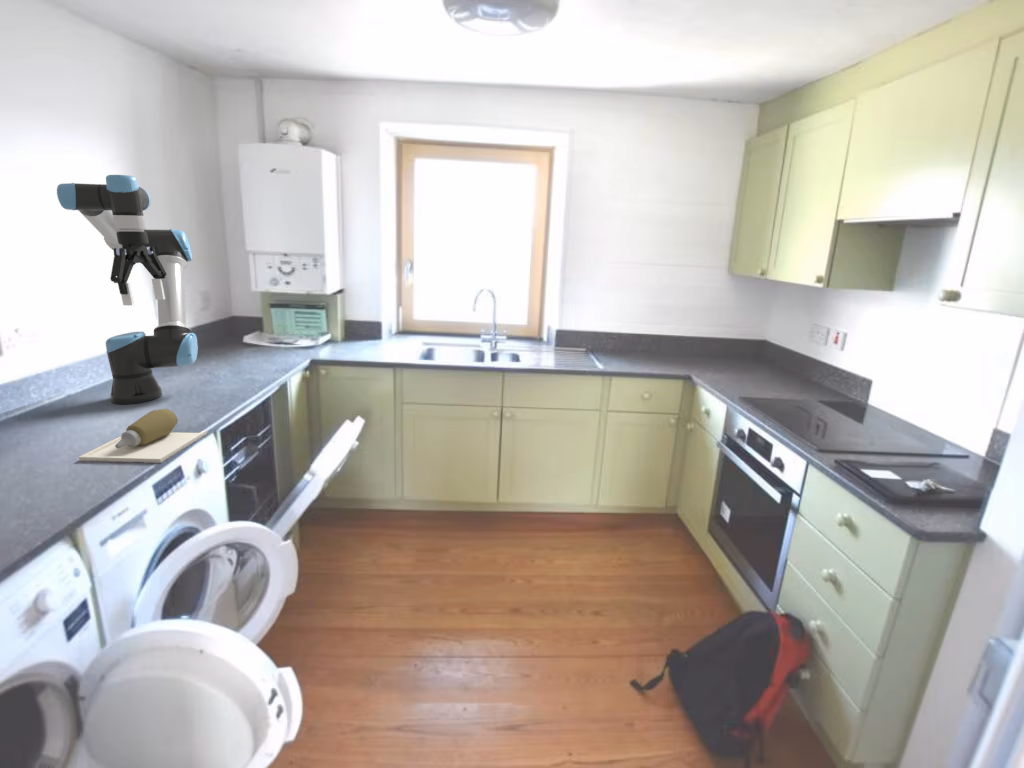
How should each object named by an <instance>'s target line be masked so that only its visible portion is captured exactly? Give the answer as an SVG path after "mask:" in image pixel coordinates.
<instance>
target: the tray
mask: <svg viewBox="0 0 1024 768" xmlns="http://www.w3.org/2000/svg"><path fill="white" fill-rule="evenodd" d="M207 435H208V431H207V430H202V431H200V432H177V431H176V432H172V431H171V432H170V433H169V434H168V435H165V436H163V437H161V438H159V439H157V440H154V441H152V442H150V443H148V444H145V445H143V446H138V445H137V446H135V447H128V446H124V447H121V448H116V447H115V445H116V444H117V443H118V442H119V441H120V440H121V435H120V436H118V437H117V438H114V439H112V440H109V441H108V442H106V443H103V444H102V445H100V446H98V447H96V448H94V449H92V450H90V451H88V452H85V453H84V454H81V455H80V456H78V459H79V462H96V463H97V462H98V463H100V462H101V463H133V462H142V464H143V462H144V463H145V464H162V463H164V462H166V461H167V460H169V459H171V458H172V457H173V456H175V455H177V454H178V453H181V452H182V451H183V450H185V449H187V448H188V447H189V446H191V445H193V444H195V443H197V442H198V441H199V440H201V439H203V438H205V437H206V436H207Z"/></svg>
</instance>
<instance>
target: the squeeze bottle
mask: <svg viewBox="0 0 1024 768" xmlns="http://www.w3.org/2000/svg"><path fill="white" fill-rule="evenodd" d="M178 421H179V420H178V416H177V414H175V412H174V411H172V410H170V409H168V408H163V409H162V408H161V409H153V410H152V411H149V412H147V413H146V414H144V415H142V417H140V418H138V419H137V420H135V421H134V422H133V423H131V424H129V425H128V426H127V428H126V431H124V432H123V433H122V434H121V435H120V436H121V440H120V441H119V442H118V443H117V444H116V445H115V447H116V448H121V447H124V446H128V447H135V446H137V445H138V446H143V445H145V444H148V443H150V442H152V441H154V440H157V439H159V438H161V437H163V436H165V435H168V434H169V433H170V432H172V431H173V430H174V428H175V427H176V426H177V424H178Z"/></svg>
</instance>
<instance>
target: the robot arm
mask: <svg viewBox="0 0 1024 768" xmlns="http://www.w3.org/2000/svg"><path fill="white" fill-rule="evenodd" d="M105 183H106V184H104V183H103V184H99V183H97V184H96V183H77V182H71V183H59V184H58V185H57V187H56V196H57V200H58V202H59V204H60V206H61V207H62V208H63V209H64V210H69V211H70V210H71V211H78V212H79V213H81V215H82V216H83V217H84V218H85V219H86V220H87V221H88V222H89V223H90V224H91V226H92V227H94V228H95V229H96V231H98V233H100V234H101V236H102V237H103V240H104V242H105V243H106V245H107V246H108V247H109V248H110V249H111V250H113V256H114V257H113V260H112V261H113V262H112V268H111V273H110V281H111V282H113V283H114V284H117V285H118V291H119V294H120V297H121V301H122V305H123V306H134V305H135V303H134V298H133V297H134V296H133V293H132V289H131V283H130V282H128V281H129V278H130V275H131V272H132V270H133V267H134V265H136V264H142V265H143V266H144V269H146V271H147V272H148V273H149V274H150V275H151V277H152V278H151V282H152V283H151V284H152V288H153V293H154V299H155V300H157V317H158V321H157V322H158V325H157V326H156V327H154V329H153V335H146V333H145V332H144V331H132V332H126V333H122V334H121V333H120V334H118V335H114V336H111V337H108V339H107V340H106V341H105V348H106V355H107V359H108V363H109V368H110V372H111V376H112V383H111V392H110V400H111V403H112V404H118V405H129V404H130V405H133V404H139V403H144V402H148V401H149V402H150V401H153V400H156V399H159V398H161V397H162V396H163V389H162V387H161V386H160V385H159V383H158V380H157V379H156V377H155V376H154V375H153V369H160V368H161V369H162V368H172V367H179V368H181V367H185V366H191V365H193V364H194V363H195V362H196V361H197V357H198V351H199V350H198V348H199V345H198V338H197V335H196V333H193V331H192V329H191V328H190V327H188V326H187V316H186V315H187V314H186V295H185V278H184V270H185V269H186V268H187V267H188V262H191V261H193V254H192V250H191V245H190V242H189V240H188V236H187V234H186V232H185V231H183V230H180V229H171V228H170V229H147V226H146V225H147V224H146V220H145V216H144V213H143V211H146V210H148V208H149V207H150V206H151V204H152V203H151V201H152V199H151V196H150V194H149V193H148V192H147V191H146V189H144V188H143V187H141V186H139V183H138V180H137V178H136V177H135V176H133V175H126V174H125V175H124V174H108V175H106V177H105Z"/></svg>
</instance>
